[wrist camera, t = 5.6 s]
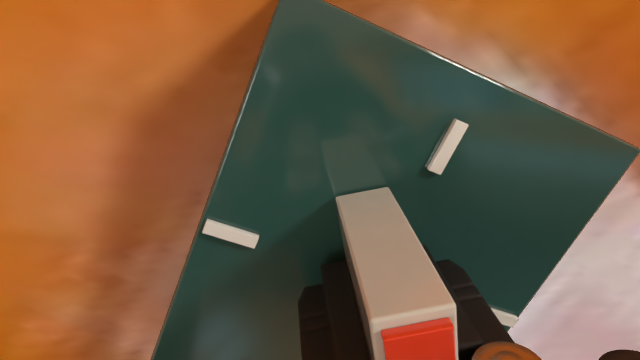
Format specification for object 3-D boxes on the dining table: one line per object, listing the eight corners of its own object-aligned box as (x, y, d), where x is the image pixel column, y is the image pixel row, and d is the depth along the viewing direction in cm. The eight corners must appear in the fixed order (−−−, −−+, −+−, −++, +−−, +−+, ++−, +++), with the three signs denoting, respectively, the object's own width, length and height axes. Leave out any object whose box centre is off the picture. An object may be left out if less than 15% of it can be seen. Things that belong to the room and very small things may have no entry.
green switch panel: (402, 376, 18) (426, 450, 15) (166, 316, 15) (139, 390, 12) (570, 119, 14) (648, 151, 11) (283, -14, 11) (284, -19, 8)
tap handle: (406, 344, 13) (471, 523, 8) (361, 353, 13) (403, 536, 8) (388, 185, 10) (464, 315, 6) (334, 195, 10) (372, 332, 6)
